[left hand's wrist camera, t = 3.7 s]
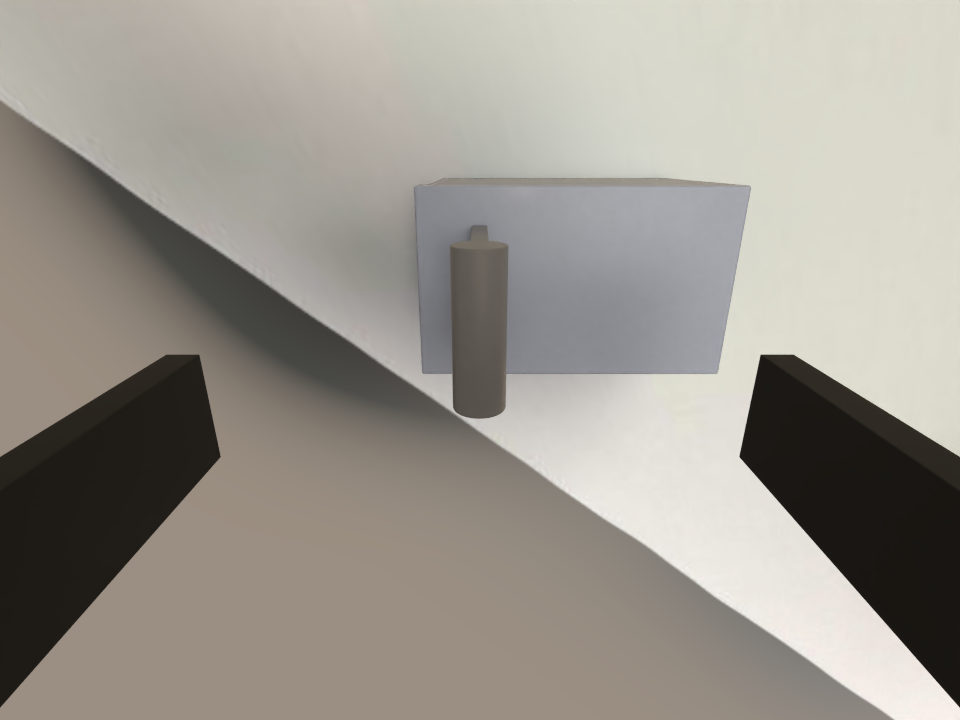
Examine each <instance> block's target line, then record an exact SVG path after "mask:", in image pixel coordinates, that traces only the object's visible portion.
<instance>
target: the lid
mask: <svg viewBox="0 0 960 720" xmlns="http://www.w3.org/2000/svg"><path fill="white" fill-rule="evenodd" d="M750 190H751V187H750V186H746V185H417V186H415V187H414V194H415V217H416V240H417V263H418V286H419V309H420V332H421V355H422V372H423V373H424V374H453V408H454V410H455V411H456V412H457V413H458V414H460V415H462V416H465V417H469V418H490V417H494V416H497V415H499V414H500V413H502V412H503V411H504V409H505V402H506V374H717V373H718V368H719V362H720V357H721V351H722V346H723V340H724V335H725V329H726V323H727V318H728V312H729V307H730V301H731V296H732V290H733V284H734V279H735V273H736V268H737V262H738V257H739V251H740V245H741V240H742V234H743V229H744V223H745V218H746V212H747V206H748V201H749V195H750Z"/></svg>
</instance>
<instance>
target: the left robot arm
mask: <svg viewBox="0 0 960 720" xmlns="http://www.w3.org/2000/svg"><path fill="white" fill-rule="evenodd" d="M220 457H221V456H220V452H219V447H218V442H217V437H216V433H215V428H214V423H213V419H212V414H211V409H210V404H209V399H208V394H207V390H206V385H205V380H204V375H203V370H202V366H201V361H200V356H199V355H165V356H164V357H162V358H160V359H159V360H157V361H156V362H154V363H152V364H151V365H149V366H147V367H146V368H144V369H143V370H141V371H139V372H138V373H136V374H134V375H133V376H131V377H130V378H128V379H126V380H125V381H123V382H121V383H120V384H118V385H116V386H115V387H113V388H112V389H110V390H108V391H107V392H105V393H103V394H102V395H100V396H99V397H97V398H95V399H94V400H92V401H90V402H89V403H87V404H86V405H84V406H82V407H81V408H79V409H78V410H76V411H74V412H73V413H71V414H69V415H68V416H66V417H64V418H63V419H61V420H60V421H58V422H56V423H55V424H53V425H51V426H50V427H48V428H47V429H45V430H43V431H42V432H40V433H39V434H37V435H35V436H34V437H32V438H30V439H29V440H27V441H25V442H24V443H22V444H21V445H19V446H17V447H16V448H14V449H13V450H11V451H9V452H8V453H6V454H4V455H3V456H1V457H0V707H1V706H2V705H3V704H4V703H5V701H6V700H7V699H8V698H9V697H10V696H11V695H12V693H13V692H14V691H15V690H16V689H17V688H18V687H19V686H20V684H21V683H22V682H23V681H24V680H25V679H26V678H27V676H28V675H29V674H30V673H31V672H32V671H33V670H34V668H35V667H36V666H37V665H38V664H39V663H40V662H41V660H42V659H43V658H44V657H45V656H46V655H47V654H48V653H49V651H50V650H51V649H52V648H53V647H54V646H55V645H56V643H57V642H58V641H59V640H60V639H61V638H62V637H63V635H64V634H65V633H66V632H67V631H68V630H69V629H70V628H71V626H72V625H73V624H74V623H75V622H76V621H77V620H78V618H79V617H80V616H81V615H82V614H83V613H84V612H85V610H86V609H87V608H88V607H89V606H90V605H91V604H92V602H93V601H94V600H95V599H96V598H97V597H98V596H99V595H100V593H101V592H102V591H103V590H104V589H105V588H106V587H107V585H108V584H109V583H110V582H111V581H112V580H113V579H114V578H115V576H116V575H117V574H118V573H119V572H120V571H121V570H122V568H123V567H124V566H125V565H126V564H127V563H128V562H129V560H130V559H131V558H132V557H133V556H134V555H135V554H136V552H137V551H138V550H139V549H140V548H141V547H142V546H143V545H144V543H145V542H146V541H147V540H148V539H149V538H150V536H151V535H152V534H153V533H154V532H155V531H156V530H157V529H158V527H159V526H160V525H161V524H162V523H163V522H164V521H165V520H166V518H167V517H168V516H169V515H170V514H171V513H172V512H173V510H174V509H175V508H176V507H177V506H178V505H179V504H180V502H181V501H182V500H183V499H184V498H185V497H186V496H187V494H188V493H189V492H190V491H191V490H192V489H193V488H194V486H195V485H196V484H197V483H198V482H199V481H200V480H201V479H202V477H203V476H204V475H205V474H206V473H207V472H208V471H209V469H210V468H211V467H212V466H213V465H214V464H215V463H216V462H217V460H218V459H219V458H220ZM739 457H740V458H741V459H742V460H743V462H744V463H745V464H746V465H747V466H748V467H749V468H750V469H751V471H752V472H753V473H754V474H755V475H756V476H757V477H758V479H759V480H760V481H761V482H762V483H763V484H764V485H765V487H766V488H767V489H768V490H769V491H770V492H771V493H772V494H773V496H774V497H775V498H776V499H777V500H778V501H779V502H780V504H781V505H782V506H783V507H784V508H785V509H786V510H787V512H788V513H789V514H790V515H791V516H792V517H793V518H794V520H795V521H796V522H797V523H798V524H799V525H800V526H801V527H802V529H803V530H804V531H805V532H806V533H807V534H808V535H809V537H810V538H811V539H812V540H813V541H814V542H815V543H816V545H817V546H818V547H819V548H820V549H821V550H822V551H823V552H824V554H825V555H826V556H827V557H828V558H829V559H830V560H831V562H832V563H833V564H834V565H835V566H836V567H837V568H838V570H839V571H840V572H841V573H842V574H843V575H844V576H845V578H846V579H847V580H848V581H849V582H850V583H851V584H852V585H853V587H854V588H855V589H856V590H857V591H858V592H859V593H860V595H861V596H862V597H863V598H864V599H865V600H866V601H867V603H868V604H869V605H870V606H871V607H872V608H873V609H874V610H875V612H876V613H877V614H878V615H879V616H880V617H881V618H882V620H883V621H884V622H885V623H886V624H887V625H888V626H889V628H890V629H891V630H892V631H893V632H894V633H895V634H896V635H897V637H898V638H899V639H900V640H901V641H902V642H903V643H904V645H905V646H906V647H907V648H908V649H909V650H910V651H911V653H912V654H913V655H914V656H915V657H916V658H917V659H918V661H919V662H920V663H921V664H922V665H923V666H924V667H925V668H926V670H927V671H928V672H929V673H930V674H931V675H932V676H933V678H934V679H935V680H936V681H937V682H938V683H939V684H940V686H941V687H942V688H943V689H944V690H945V691H946V692H947V693H948V695H949V696H950V697H951V698H952V699H953V700H954V701H955V703H956V704H957V705H958V706H959V707H960V457H959V456H957V455H956V454H954V453H952V452H951V451H949V450H948V449H946V448H944V447H943V446H941V445H939V444H938V443H936V442H935V441H933V440H931V439H930V438H928V437H926V436H925V435H923V434H922V433H920V432H918V431H917V430H915V429H913V428H912V427H910V426H909V425H907V424H905V423H904V422H902V421H900V420H899V419H897V418H896V417H894V416H892V415H891V414H889V413H887V412H886V411H884V410H883V409H881V408H879V407H878V406H876V405H874V404H873V403H871V402H870V401H868V400H866V399H865V398H863V397H861V396H860V395H858V394H857V393H855V392H853V391H852V390H850V389H848V388H847V387H845V386H844V385H842V384H840V383H839V382H837V381H835V380H834V379H832V378H830V377H829V376H827V375H826V374H824V373H822V372H821V371H819V370H817V369H816V368H814V367H813V366H811V365H809V364H808V363H806V362H804V361H803V360H801V359H800V358H798V357H796V356H795V355H761V356H760V361H759V366H758V370H757V375H756V380H755V385H754V390H753V394H752V399H751V404H750V409H749V413H748V418H747V423H746V428H745V433H744V437H743V442H742V447H741V452H740V456H739Z"/></svg>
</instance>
